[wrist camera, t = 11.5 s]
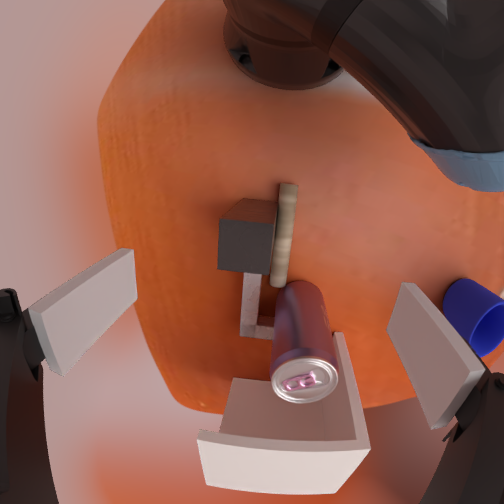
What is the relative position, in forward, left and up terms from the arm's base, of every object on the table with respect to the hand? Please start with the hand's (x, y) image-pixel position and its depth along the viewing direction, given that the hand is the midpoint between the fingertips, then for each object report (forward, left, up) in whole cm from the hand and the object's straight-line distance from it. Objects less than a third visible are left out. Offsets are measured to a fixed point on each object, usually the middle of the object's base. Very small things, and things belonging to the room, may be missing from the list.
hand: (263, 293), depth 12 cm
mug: (+11, +27, -20) cm, 36 cm away
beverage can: (+11, +4, -20) cm, 23 cm away
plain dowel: (+2, +1, -20) cm, 21 cm away
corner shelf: (+21, +3, -20) cm, 30 cm away
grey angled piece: (+7, 0, -20) cm, 21 cm away
